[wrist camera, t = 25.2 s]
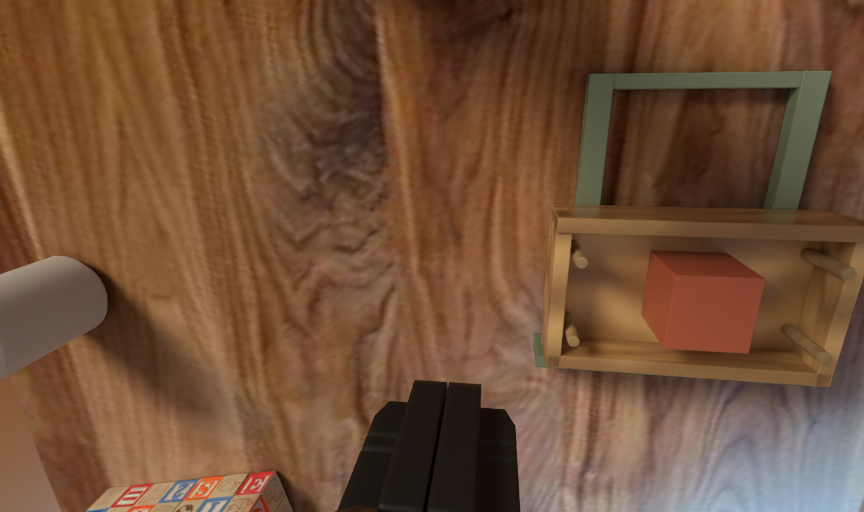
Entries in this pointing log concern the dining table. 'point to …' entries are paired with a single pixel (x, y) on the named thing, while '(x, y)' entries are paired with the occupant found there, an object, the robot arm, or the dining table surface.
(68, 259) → the can
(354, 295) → the dining table surface
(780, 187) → the green rectangular frame
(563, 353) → the open box
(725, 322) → the block
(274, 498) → the stack of blocks
